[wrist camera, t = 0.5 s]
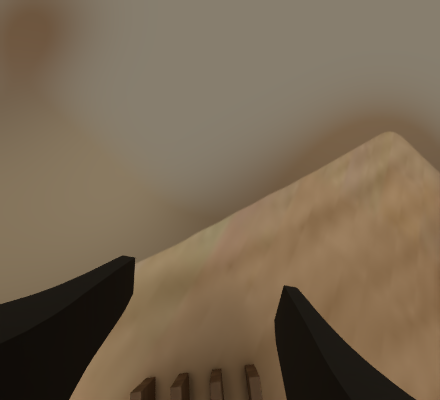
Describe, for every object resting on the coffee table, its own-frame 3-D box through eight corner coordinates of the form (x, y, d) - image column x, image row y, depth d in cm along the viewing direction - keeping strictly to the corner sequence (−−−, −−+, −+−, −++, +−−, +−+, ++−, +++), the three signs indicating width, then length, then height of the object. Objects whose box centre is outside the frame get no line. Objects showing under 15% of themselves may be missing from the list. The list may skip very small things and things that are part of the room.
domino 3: (221, 368, 33) (220, 381, 28) (225, 414, 31) (225, 438, 26) (212, 369, 33) (209, 382, 28) (216, 415, 31) (214, 439, 26)
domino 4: (253, 364, 33) (259, 376, 28) (260, 410, 31) (267, 432, 26) (245, 365, 33) (248, 377, 28) (250, 411, 31) (256, 434, 26)
